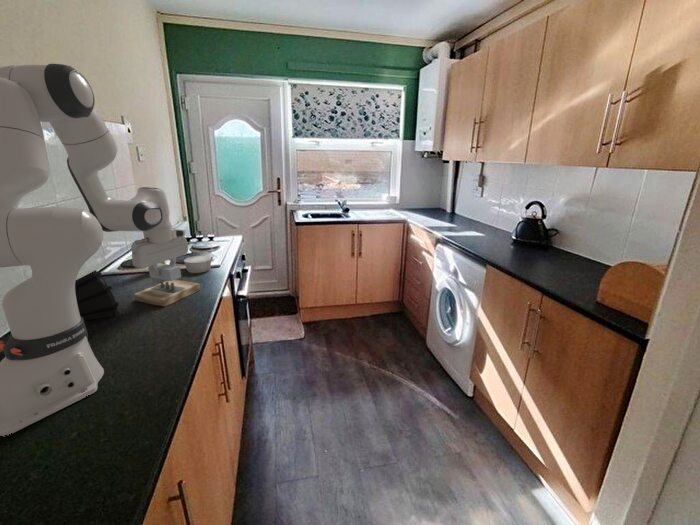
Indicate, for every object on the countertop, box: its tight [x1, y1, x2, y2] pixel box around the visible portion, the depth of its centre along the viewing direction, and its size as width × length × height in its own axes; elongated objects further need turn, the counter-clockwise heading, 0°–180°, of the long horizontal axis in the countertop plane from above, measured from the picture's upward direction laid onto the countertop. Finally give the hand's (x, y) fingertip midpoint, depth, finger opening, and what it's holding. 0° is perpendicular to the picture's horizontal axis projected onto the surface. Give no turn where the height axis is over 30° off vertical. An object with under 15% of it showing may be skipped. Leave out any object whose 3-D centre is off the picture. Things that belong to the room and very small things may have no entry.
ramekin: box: [183, 255, 212, 274], centre depth 150 cm, size 11×11×5 cm
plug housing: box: [147, 263, 182, 281], centre depth 121 cm, size 10×4×4 cm, turn 69°
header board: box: [133, 279, 202, 307], centre depth 123 cm, size 16×14×5 cm
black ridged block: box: [75, 269, 120, 321], centre depth 105 cm, size 4×13×15 cm, turn 107°
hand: (165, 272), depth 121 cm, fingers closed on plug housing, 4 cm apart
